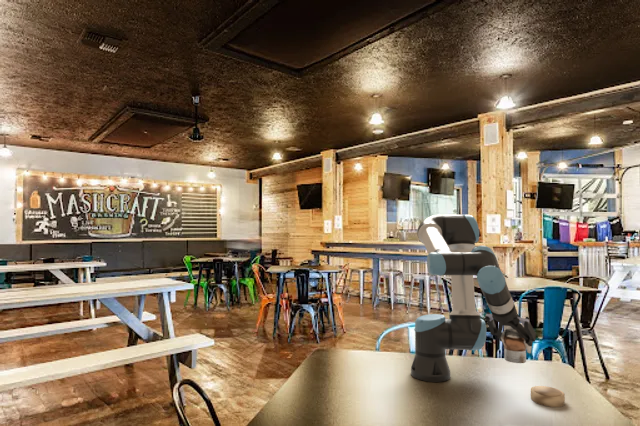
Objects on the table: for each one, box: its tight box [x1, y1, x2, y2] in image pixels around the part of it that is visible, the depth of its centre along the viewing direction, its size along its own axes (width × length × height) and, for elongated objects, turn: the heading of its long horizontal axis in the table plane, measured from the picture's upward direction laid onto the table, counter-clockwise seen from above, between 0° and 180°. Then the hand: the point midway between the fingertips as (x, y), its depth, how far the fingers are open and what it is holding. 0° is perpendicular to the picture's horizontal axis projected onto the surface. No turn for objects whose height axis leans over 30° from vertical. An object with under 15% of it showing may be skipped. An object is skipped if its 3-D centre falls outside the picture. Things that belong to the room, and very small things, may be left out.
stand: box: [530, 385, 566, 408], centre depth 139 cm, size 10×10×3 cm
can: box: [503, 322, 527, 364], centre depth 141 cm, size 7×7×12 cm
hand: (518, 347), depth 143 cm, fingers closed on can, 7 cm apart
